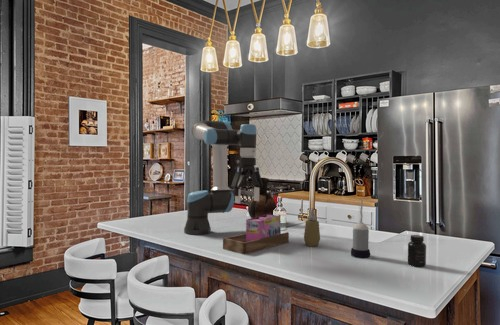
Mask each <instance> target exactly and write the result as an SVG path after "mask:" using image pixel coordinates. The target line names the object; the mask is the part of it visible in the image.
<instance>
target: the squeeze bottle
mask: <svg viewBox="0 0 500 325" xmlns="http://www.w3.org/2000/svg"><path fill="white" fill-rule="evenodd" d="M319 222H320V221H319V220H318V216H316V215H315V210H314V208H311V209H310V213H309V215H308V216H307V220H306V221H305V224H304V234H303V240H304V242H305V246H308V247H318V246H319V243H320V241H321V232H320V223H319Z"/></svg>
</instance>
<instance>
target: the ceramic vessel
mask: <svg viewBox="0 0 500 325" xmlns="http://www.w3.org/2000/svg"><path fill="white" fill-rule="evenodd" d="M261 179H262V183H263V186H262V187H260V194H259V201H254V196H253V197H252V198H251V199H250V200H249V202H248V205H247V212H248V215H249V217H250V219H251V218H255V217H258V216H262V215H265V214H271V215H273V210H274V209H275V208H276V207H277V203H276V201H275V199H274V197H272V194H271V191H268V184H269V181H270V179H269V178H268V177H264V176H263V177H261ZM276 209H277V208H276Z"/></svg>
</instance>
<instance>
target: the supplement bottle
mask: <svg viewBox="0 0 500 325" xmlns="http://www.w3.org/2000/svg"><path fill="white" fill-rule="evenodd" d="M424 241H425V238H424V235H420V234H410V241H409V242H408V243H407V265H409V266H410V265H411V266H410V267H413V266H414V268H424V267H426V264H427V245H426V243H424Z"/></svg>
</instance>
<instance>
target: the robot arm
mask: <svg viewBox="0 0 500 325" xmlns="http://www.w3.org/2000/svg"><path fill="white" fill-rule="evenodd" d="M257 133H258V132H257V126H256V124H250V123H248V124H246V123H244V124H241V125H240V129H233V128H232V124H230V122H229V121H222V120H221V121H219V120H200V121H196V122H195V123H194V124H192V128H191V135H192V137H193V138H195V139H197V140H198V141H199V140H200V141H203V142H204V144H205V145H210V146H211V147H212V186H213V187H212V188H211V189H210V192H209V190H197V191H192V192H190V193H188V195H187V201H186V203H187V219H186V222H185V226H184V228H183V232H184V234H186V235H206V234H209V233H211V232H212V229H211V224H210V221H209V217H208V216H209V214H218V213H219V214H220V213H223V214H224V213H230V212H231V211H232V209H233V208H234V204H240V205H241V197H242V196H241V194H242V193H241V186H242V184H243V182H244V181H245V179H246V178H250V179H251V181H252V183H253V185H254V187H253V197H254V201H259V194H260V187H262V186H263V183H262V179H261V178H262V177H261V173H260V167H259V166H256V165H257V158H256V157H257ZM228 146H239V156H240V158H239V165H240V166H239V167H237V166H236V168H235V174H234V176H233V179H232V183H231V185H230V187H229V184H228V183H229V182H228V181H229V180H228ZM231 189H234V191H233V192H232V191H231Z"/></svg>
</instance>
